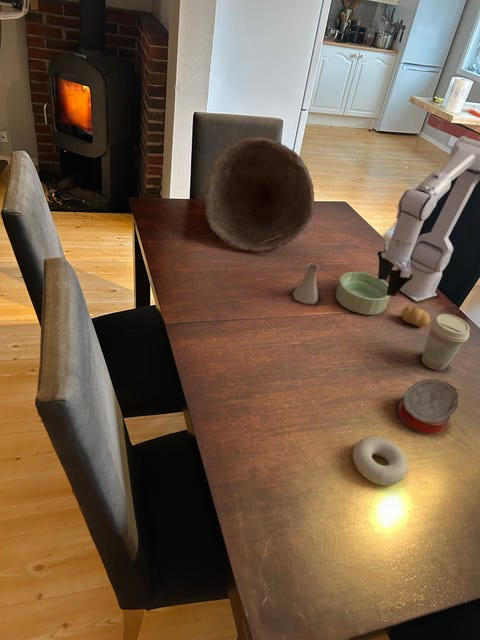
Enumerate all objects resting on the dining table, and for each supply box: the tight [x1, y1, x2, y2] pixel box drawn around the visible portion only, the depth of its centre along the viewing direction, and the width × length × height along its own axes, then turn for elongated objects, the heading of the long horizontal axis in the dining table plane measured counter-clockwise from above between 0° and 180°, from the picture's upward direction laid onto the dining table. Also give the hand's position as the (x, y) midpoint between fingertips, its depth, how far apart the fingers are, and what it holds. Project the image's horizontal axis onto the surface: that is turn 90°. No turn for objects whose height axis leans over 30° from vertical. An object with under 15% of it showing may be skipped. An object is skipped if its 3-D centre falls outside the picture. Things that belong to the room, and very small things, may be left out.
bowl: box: [204, 137, 315, 253], centre depth 156 cm, size 34×35×30 cm
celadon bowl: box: [335, 271, 391, 316], centre depth 131 cm, size 14×14×6 cm
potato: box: [401, 305, 431, 328], centre depth 126 cm, size 7×4×4 cm, turn 58°
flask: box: [292, 262, 320, 305], centre depth 128 cm, size 7×7×10 cm
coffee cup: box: [421, 313, 471, 372], centre depth 111 cm, size 8×8×12 cm
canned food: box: [397, 378, 459, 435], centre depth 97 cm, size 11×10×10 cm
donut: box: [352, 435, 409, 486], centre depth 86 cm, size 10×3×10 cm
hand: (386, 286), depth 122 cm, fingers open, 7 cm apart
